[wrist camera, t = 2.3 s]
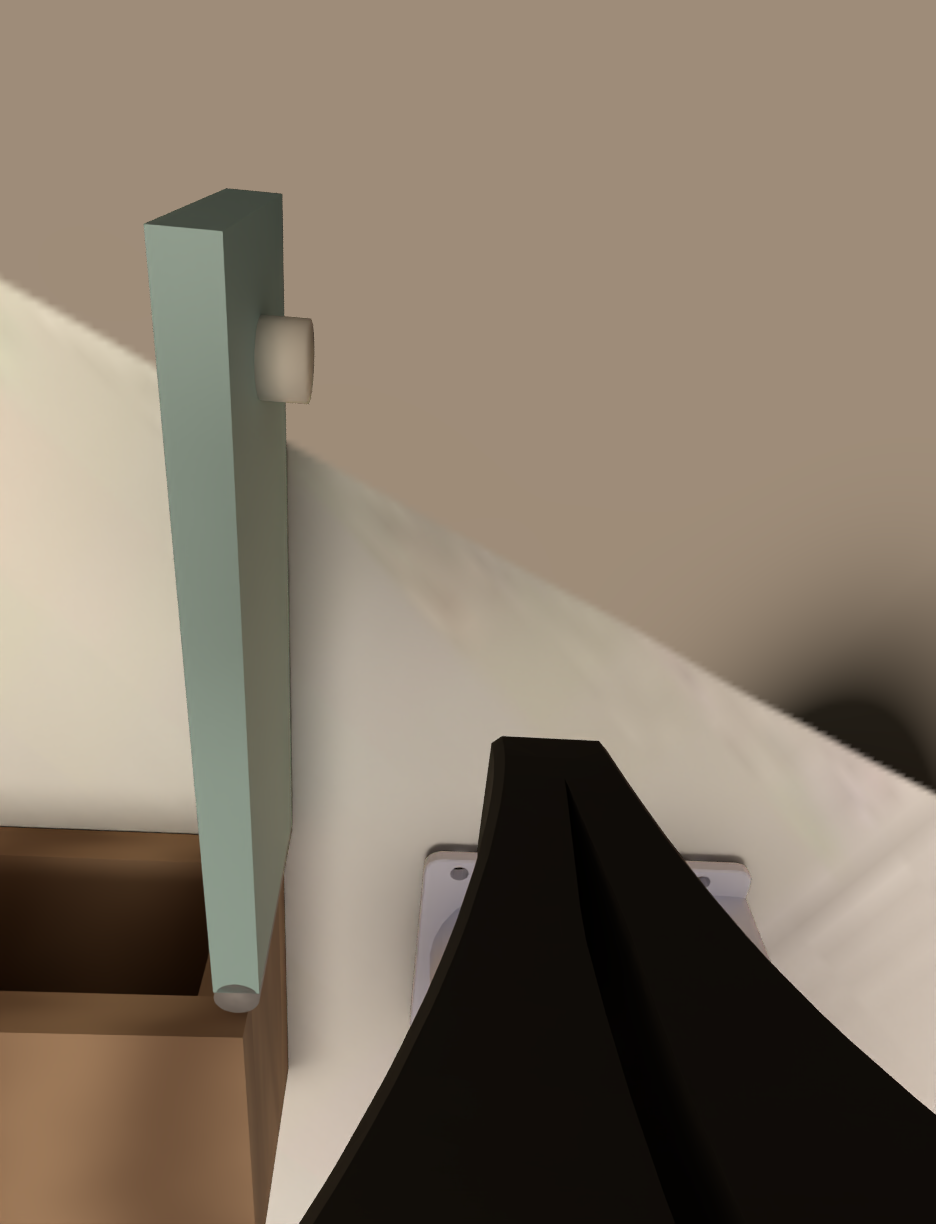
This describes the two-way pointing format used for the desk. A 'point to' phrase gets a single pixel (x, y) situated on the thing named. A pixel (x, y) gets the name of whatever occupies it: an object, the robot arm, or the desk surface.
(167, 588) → the desk surface
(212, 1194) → the walnut cabinet
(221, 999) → the cabinet door
